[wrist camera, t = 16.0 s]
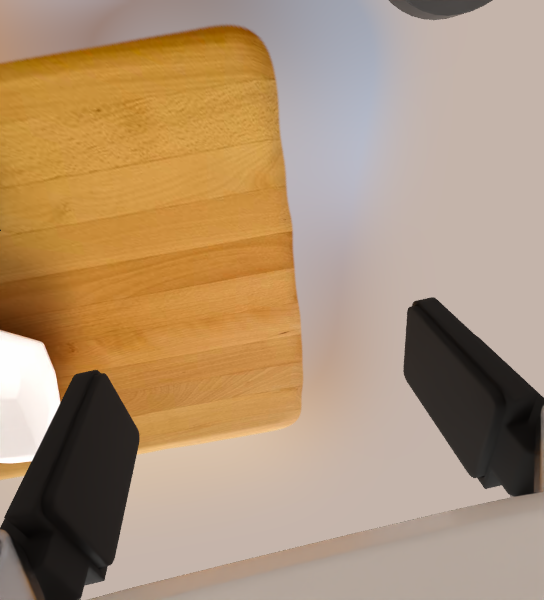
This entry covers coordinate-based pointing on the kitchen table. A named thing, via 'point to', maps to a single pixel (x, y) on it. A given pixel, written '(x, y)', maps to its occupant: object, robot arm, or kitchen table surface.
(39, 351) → the bowl
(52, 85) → the kitchen table surface
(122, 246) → the kitchen table surface
